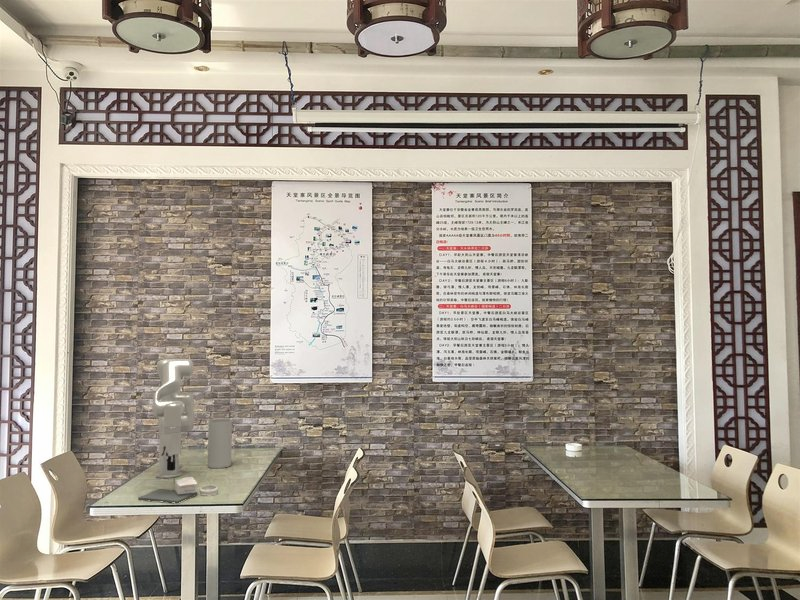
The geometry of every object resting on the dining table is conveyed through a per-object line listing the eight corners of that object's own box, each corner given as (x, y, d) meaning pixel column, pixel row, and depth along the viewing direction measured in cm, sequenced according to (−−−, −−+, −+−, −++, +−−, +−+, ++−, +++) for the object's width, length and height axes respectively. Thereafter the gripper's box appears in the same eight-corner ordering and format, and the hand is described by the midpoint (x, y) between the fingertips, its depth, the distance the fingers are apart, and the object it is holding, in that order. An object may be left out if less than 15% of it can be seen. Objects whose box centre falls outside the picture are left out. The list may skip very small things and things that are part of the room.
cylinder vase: (234, 463, 342) (235, 419, 343) (225, 469, 329) (226, 422, 330) (213, 463, 343) (214, 418, 344) (203, 468, 331) (204, 422, 332)
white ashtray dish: (205, 490, 287) (205, 484, 287) (220, 491, 285) (221, 486, 285) (196, 495, 279) (196, 489, 279) (211, 496, 277) (211, 490, 277)
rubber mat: (159, 491, 285) (159, 488, 285) (197, 494, 280) (197, 492, 280) (138, 500, 270) (138, 497, 270) (177, 503, 265) (177, 501, 265)
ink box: (173, 489, 285) (178, 496, 272) (173, 478, 285) (178, 485, 272) (192, 487, 289) (198, 494, 276) (193, 476, 289) (198, 483, 276)
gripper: (174, 427, 289) (173, 465, 289) (154, 432, 275) (153, 473, 274) (188, 427, 288) (187, 467, 287) (169, 433, 273) (168, 474, 272)
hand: (171, 470), depth 280 cm, fingers closed
